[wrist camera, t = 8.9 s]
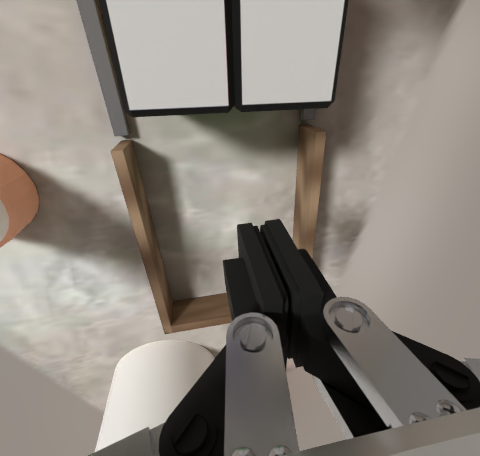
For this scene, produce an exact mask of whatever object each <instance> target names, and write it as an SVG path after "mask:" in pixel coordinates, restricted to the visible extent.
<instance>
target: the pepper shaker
mask: <svg viewBox="0 0 480 456" xmlns="http://www.w3.org/2000/svg"><path fill="white" fill-rule="evenodd" d="M38 208H39V196H38V193H37V190H36V186H35V185H34V183H33V182H32V180H31V179H30V177H29V176H28V174H27V173H26V172H25V171H24V170H23V169H22V168H20V167H19V166H18V165H17V164H16V163H15V162H14V161H12V160H10V159H8V158H7V157H5V156H3V155H1V154H0V247H2V246H3V245H5V244H6V243H7V242H9V241H10V240H12V239H13V238H14V237H15V236H16V235H17V234H18V233H19V232H20V231H21V230H22V229H23V228H24V227H26V226H27V225H28V224H29V223H30V222H31V221H32V220H33V218H34V217H35V215H36V213H37V212H38Z"/></svg>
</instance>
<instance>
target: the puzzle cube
mask: <svg viewBox="0 0 480 456" xmlns="http://www.w3.org/2000/svg"><path fill="white" fill-rule="evenodd" d="M99 3H100V7H101V11H102V16H103V20H104V25H105V29H106V34H107V38H108V43H109V47H110V51H111V56H112V60H113V65H114V69H115V74H116V78H117V82H118V87H119V91H120V96H121V100H122V105H123V109H124V110H125V111H126V112H127V113H128V114H129V115H131V116H132V117H146V116H167V115H188V114H209V113H228V112H229V111H230V110H231V109H232V107H233V106H234V107H235V108H237V109H238V110H239V111H241V112H250V111H272V110H293V109H314V108H328V107H329V106H330V105H331V104H332V103H333V101H334V100H335V92H336V85H337V78H338V71H339V64H340V57H341V49H342V42H343V35H344V28H345V21H346V14H347V7H348V0H99Z"/></svg>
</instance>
